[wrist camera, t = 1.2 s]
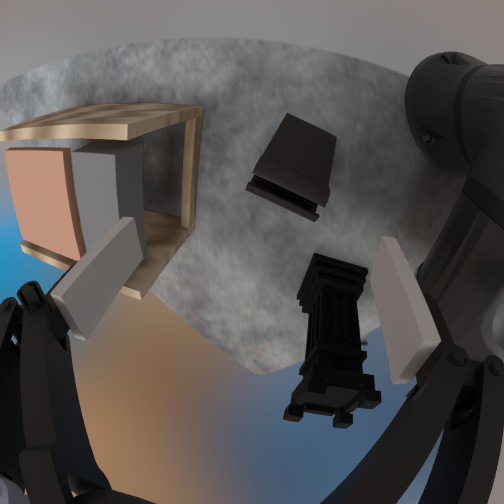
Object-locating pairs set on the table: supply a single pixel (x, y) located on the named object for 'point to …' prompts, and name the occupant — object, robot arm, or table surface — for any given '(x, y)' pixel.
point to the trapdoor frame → (125, 128)
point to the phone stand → (295, 168)
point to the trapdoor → (87, 192)
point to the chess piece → (332, 345)
